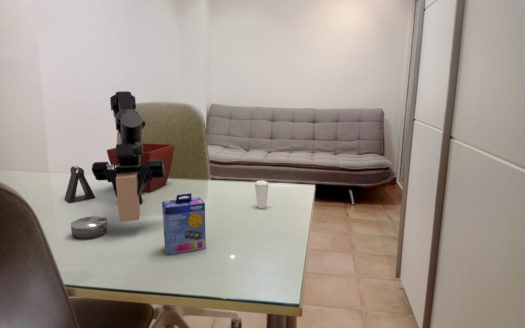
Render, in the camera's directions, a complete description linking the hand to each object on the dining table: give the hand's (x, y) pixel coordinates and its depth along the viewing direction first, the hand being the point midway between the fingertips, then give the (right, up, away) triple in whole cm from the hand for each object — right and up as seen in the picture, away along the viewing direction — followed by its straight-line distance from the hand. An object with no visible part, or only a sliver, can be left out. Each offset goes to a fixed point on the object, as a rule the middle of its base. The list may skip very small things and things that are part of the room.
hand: (127, 196), depth 102 cm
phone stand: (-30, -4, +36) cm, 48 cm away
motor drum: (-11, -11, +3) cm, 16 cm away
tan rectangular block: (0, -6, +3) cm, 7 cm away
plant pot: (-11, -1, +52) cm, 53 cm away
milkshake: (+37, -6, +25) cm, 45 cm away
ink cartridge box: (+17, -13, -7) cm, 22 cm away
